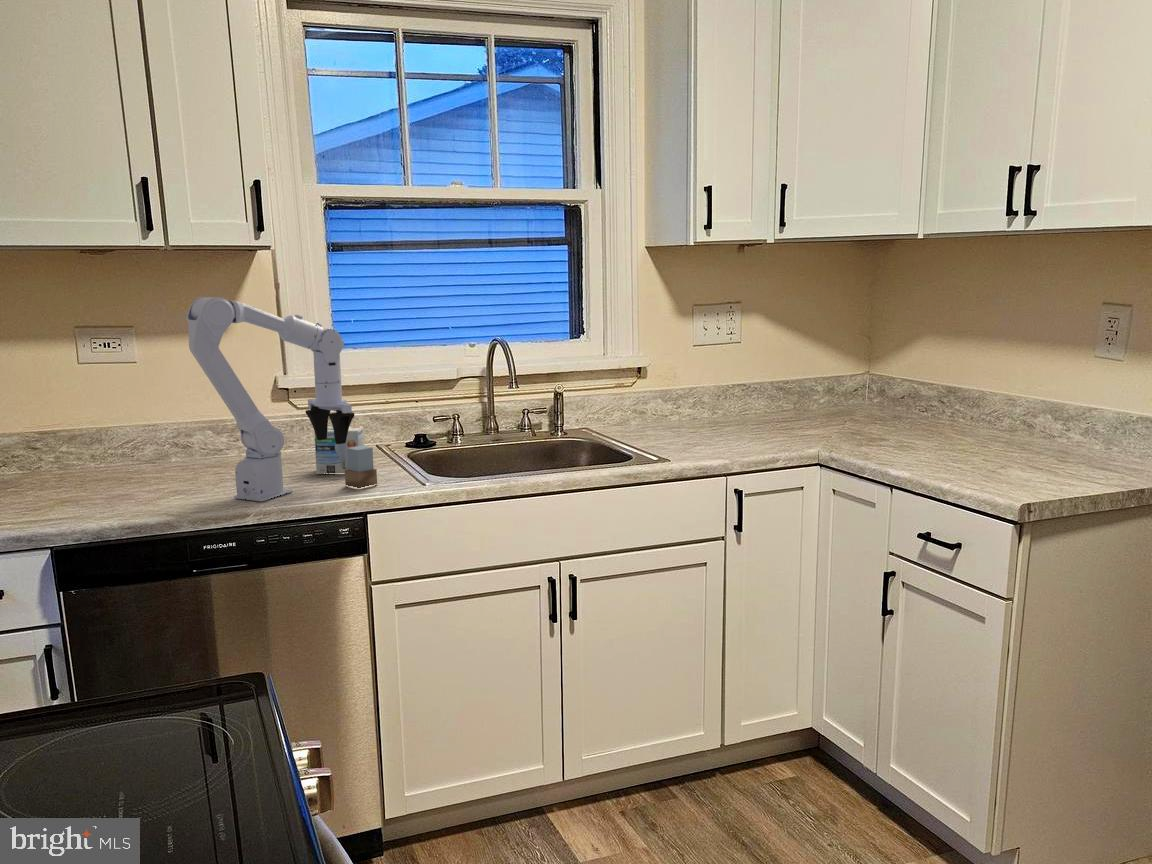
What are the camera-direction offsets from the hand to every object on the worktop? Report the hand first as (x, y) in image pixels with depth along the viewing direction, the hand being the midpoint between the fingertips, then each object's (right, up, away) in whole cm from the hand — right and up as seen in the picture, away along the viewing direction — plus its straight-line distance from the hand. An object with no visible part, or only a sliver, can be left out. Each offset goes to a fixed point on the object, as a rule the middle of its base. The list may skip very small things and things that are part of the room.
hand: (331, 441), depth 202 cm
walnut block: (+7, -10, -1) cm, 12 cm away
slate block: (+7, -6, -1) cm, 10 cm away
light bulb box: (-1, -8, +14) cm, 16 cm away
